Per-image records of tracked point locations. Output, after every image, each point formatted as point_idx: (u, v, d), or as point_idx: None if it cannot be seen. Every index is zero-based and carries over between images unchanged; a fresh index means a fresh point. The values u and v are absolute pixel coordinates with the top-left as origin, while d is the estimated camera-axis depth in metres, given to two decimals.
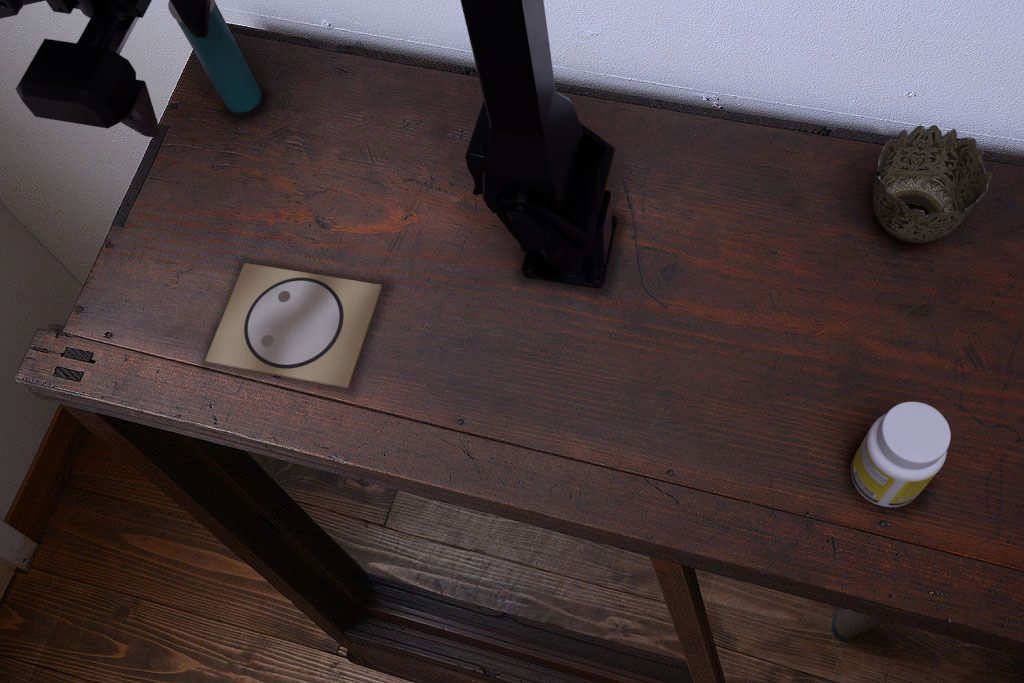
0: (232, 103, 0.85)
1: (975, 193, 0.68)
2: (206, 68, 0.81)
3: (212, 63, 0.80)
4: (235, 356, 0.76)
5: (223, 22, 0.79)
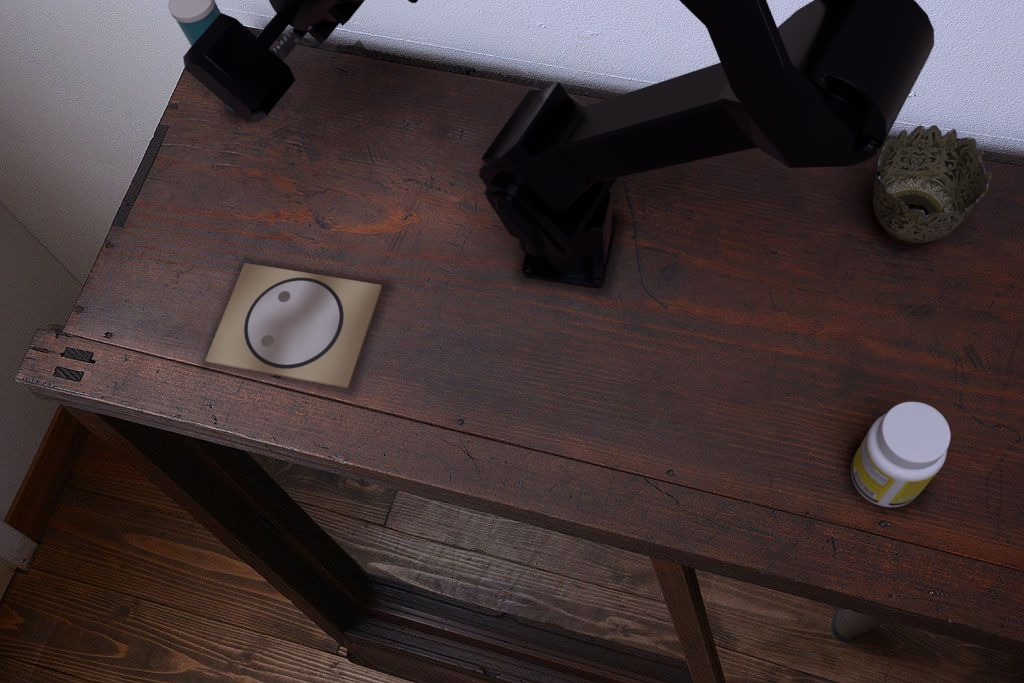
0: None
1: (975, 193, 0.68)
2: None
3: None
4: (235, 356, 0.76)
5: None
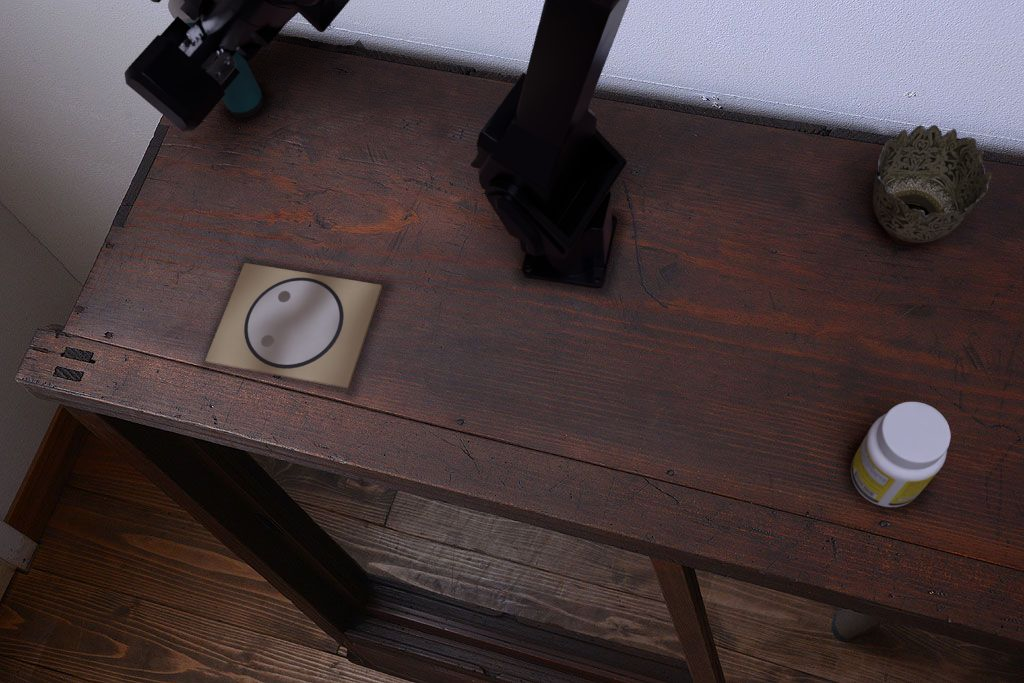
0: (231, 103, 0.85)
1: (975, 193, 0.68)
2: None
3: None
4: (235, 356, 0.76)
5: None
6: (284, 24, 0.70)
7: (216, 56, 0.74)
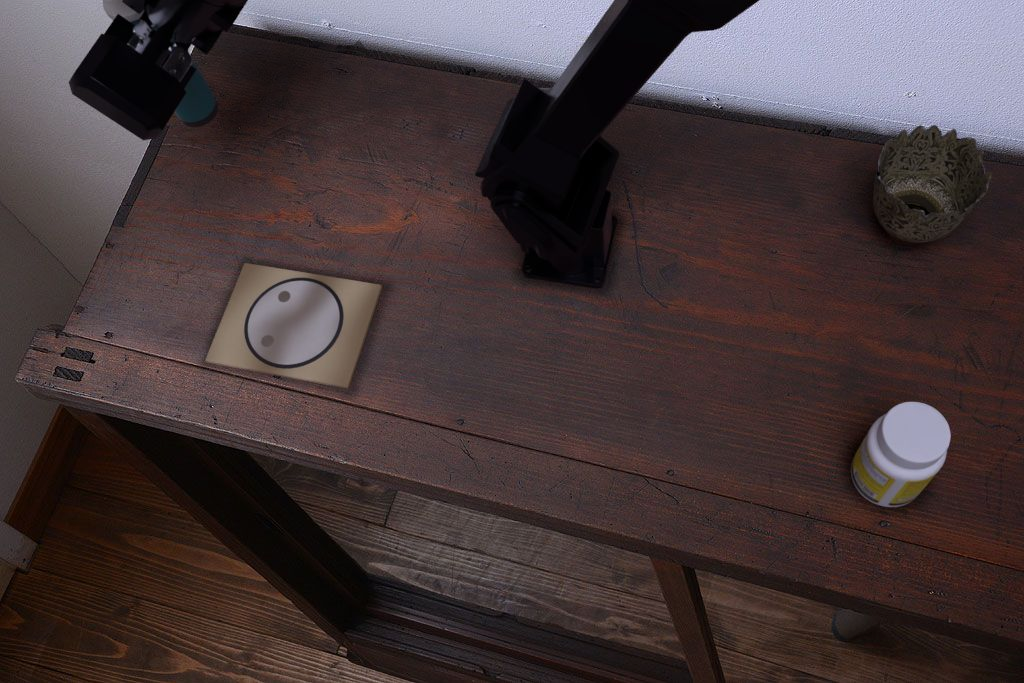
0: (185, 112, 0.76)
1: (975, 193, 0.68)
2: None
3: None
4: (235, 356, 0.76)
5: None
6: (246, 1, 0.62)
7: (169, 52, 0.66)
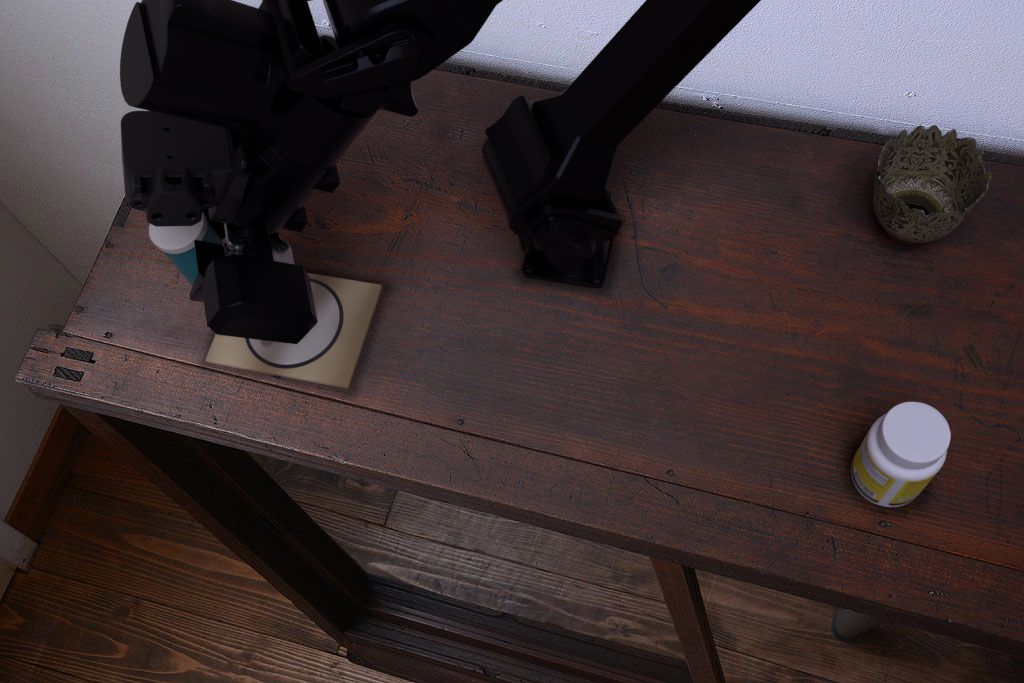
0: None
1: (975, 193, 0.68)
2: None
3: None
4: (235, 356, 0.76)
5: None
6: None
7: None
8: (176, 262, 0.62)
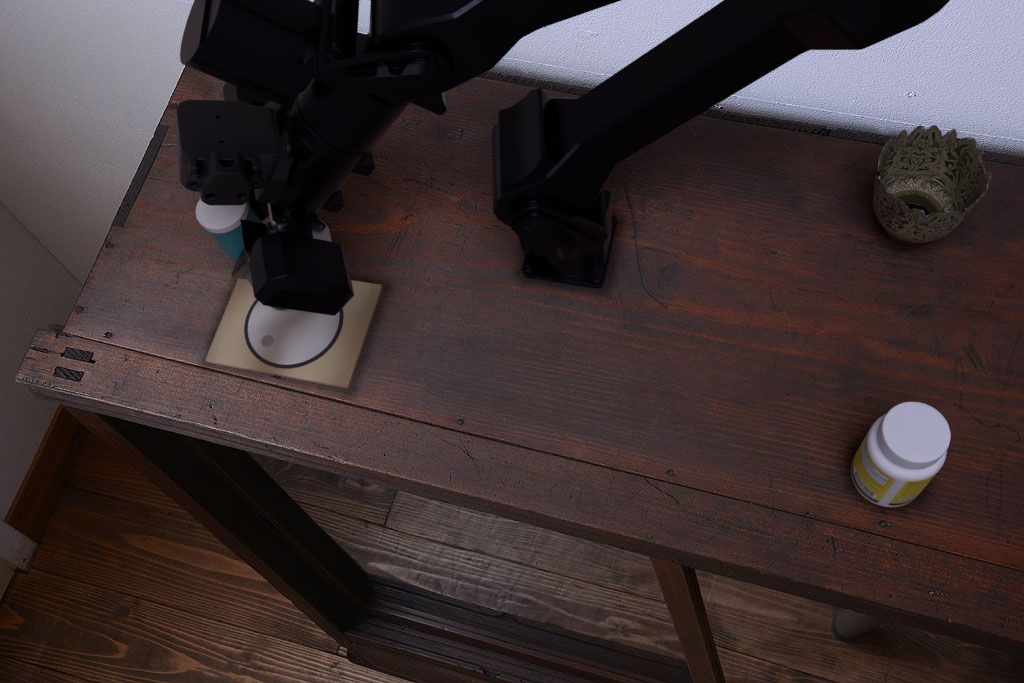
0: None
1: (975, 193, 0.68)
2: None
3: None
4: (235, 356, 0.76)
5: None
6: None
7: None
8: (220, 241, 0.67)
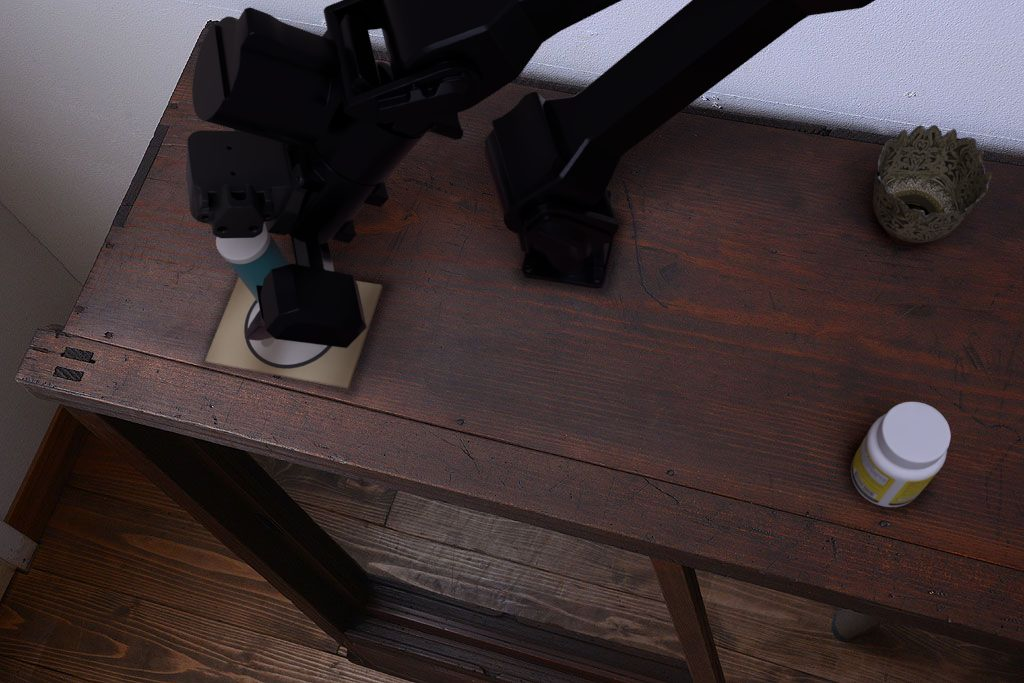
0: None
1: (975, 193, 0.68)
2: None
3: None
4: (235, 356, 0.76)
5: None
6: None
7: None
8: (240, 271, 0.66)
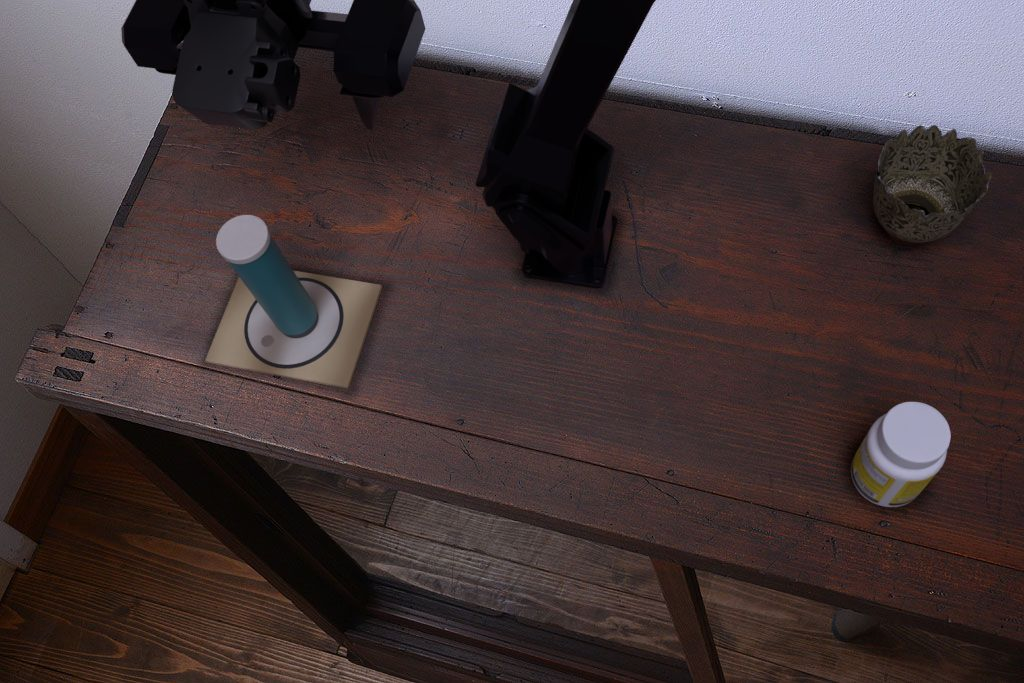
0: (300, 324, 0.74)
1: (975, 193, 0.68)
2: (273, 301, 0.70)
3: (282, 290, 0.69)
4: (235, 356, 0.76)
5: None
6: None
7: None
8: (240, 271, 0.66)
